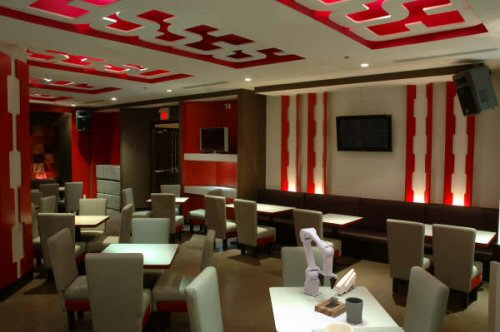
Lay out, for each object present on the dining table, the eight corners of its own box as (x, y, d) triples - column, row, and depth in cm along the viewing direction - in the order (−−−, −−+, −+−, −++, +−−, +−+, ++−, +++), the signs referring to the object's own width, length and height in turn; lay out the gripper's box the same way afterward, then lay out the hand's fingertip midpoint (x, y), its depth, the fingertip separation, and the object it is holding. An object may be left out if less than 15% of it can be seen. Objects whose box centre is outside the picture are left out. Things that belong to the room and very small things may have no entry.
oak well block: (314, 310, 251) (314, 305, 250) (329, 303, 262) (329, 298, 262) (334, 317, 241) (334, 312, 241) (348, 309, 252) (348, 304, 252)
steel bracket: (325, 310, 250) (325, 299, 250) (332, 306, 255) (332, 296, 255) (331, 312, 247) (331, 301, 247) (338, 308, 253) (338, 298, 252)
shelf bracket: (357, 285, 293) (356, 269, 290) (343, 303, 274) (341, 286, 271) (350, 284, 296) (349, 268, 294) (335, 301, 277) (334, 285, 274)
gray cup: (365, 324, 233) (365, 303, 232) (348, 324, 232) (348, 303, 231) (359, 316, 243) (359, 296, 242) (342, 316, 242) (342, 296, 241)
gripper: (314, 265, 264) (314, 285, 265) (333, 270, 254) (333, 291, 255) (320, 262, 269) (320, 283, 270) (339, 267, 259) (339, 288, 260)
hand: (327, 287), depth 263 cm, fingers open, 7 cm apart
